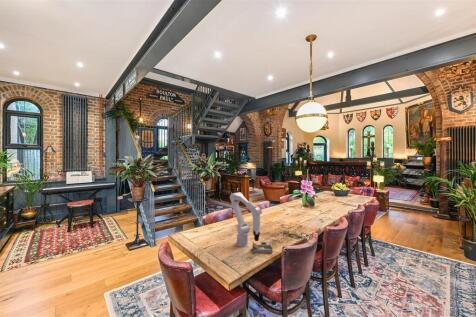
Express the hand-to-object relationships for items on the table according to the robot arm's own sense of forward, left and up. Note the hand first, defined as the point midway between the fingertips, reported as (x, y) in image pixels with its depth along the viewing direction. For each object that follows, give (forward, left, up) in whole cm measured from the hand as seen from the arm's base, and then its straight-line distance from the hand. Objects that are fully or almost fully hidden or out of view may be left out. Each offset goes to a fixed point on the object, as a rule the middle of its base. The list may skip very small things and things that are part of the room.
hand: (256, 239), depth 162 cm
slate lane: (+5, 0, -8) cm, 10 cm away
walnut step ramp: (0, 0, -8) cm, 8 cm away
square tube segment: (+7, +8, -8) cm, 13 cm away
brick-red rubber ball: (0, 0, +1) cm, 1 cm away
